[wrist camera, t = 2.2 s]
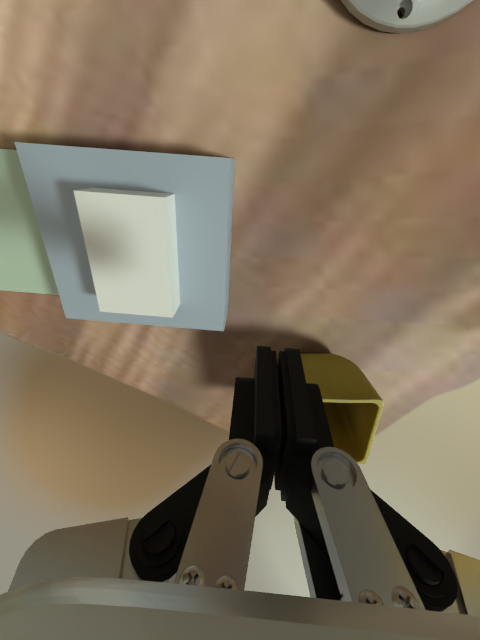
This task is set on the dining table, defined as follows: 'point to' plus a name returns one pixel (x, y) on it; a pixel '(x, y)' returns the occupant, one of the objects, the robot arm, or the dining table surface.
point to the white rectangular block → (131, 249)
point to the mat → (20, 234)
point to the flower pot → (345, 402)
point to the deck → (149, 176)
